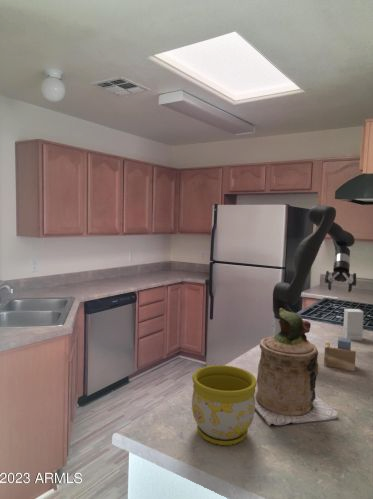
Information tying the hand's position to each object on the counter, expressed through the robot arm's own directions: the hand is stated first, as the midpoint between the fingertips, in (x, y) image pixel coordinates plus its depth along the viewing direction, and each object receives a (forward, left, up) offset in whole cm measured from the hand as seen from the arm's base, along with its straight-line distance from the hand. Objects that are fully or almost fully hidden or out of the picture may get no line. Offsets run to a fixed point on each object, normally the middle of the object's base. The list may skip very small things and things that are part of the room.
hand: (339, 290), depth 177 cm
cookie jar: (-54, -44, -29) cm, 76 cm away
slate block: (-11, -19, -29) cm, 36 cm away
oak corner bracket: (-12, -18, -29) cm, 36 cm away
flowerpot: (-81, -55, -29) cm, 102 cm away
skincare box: (+19, +11, -29) cm, 36 cm away
